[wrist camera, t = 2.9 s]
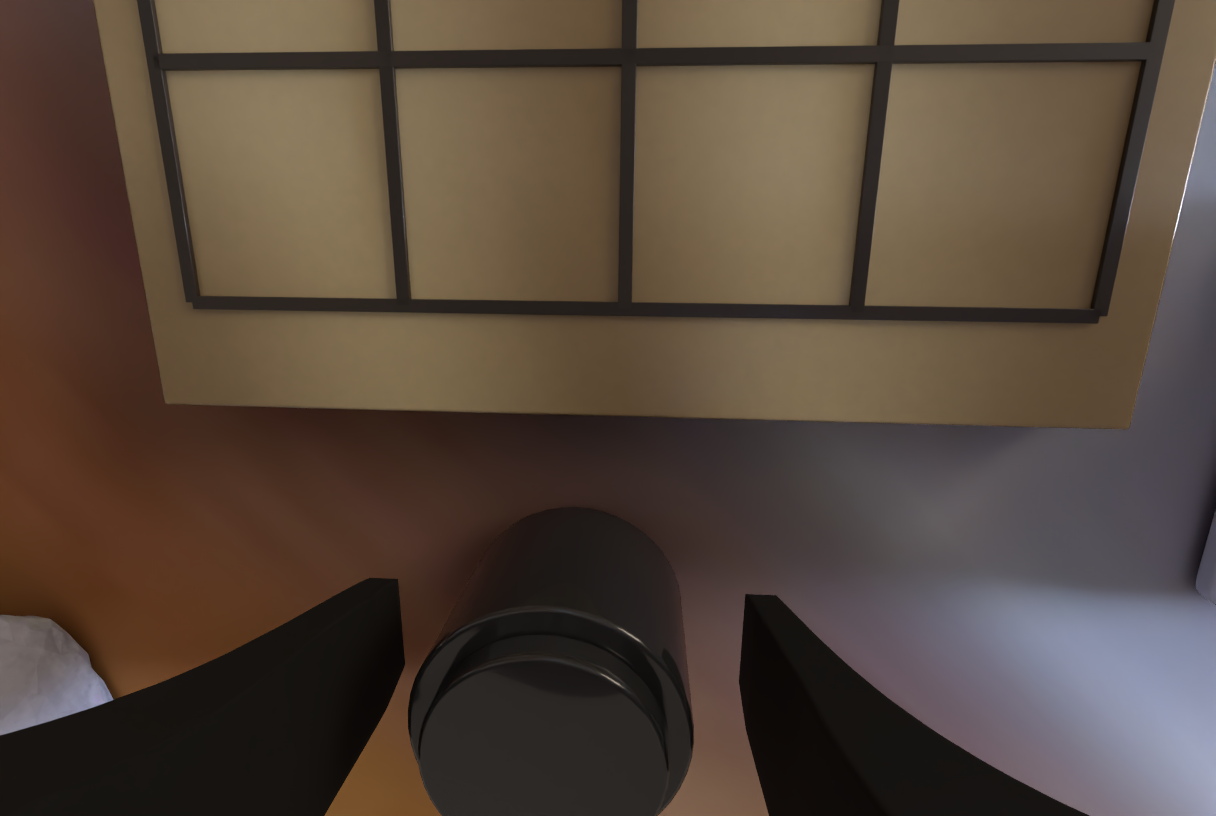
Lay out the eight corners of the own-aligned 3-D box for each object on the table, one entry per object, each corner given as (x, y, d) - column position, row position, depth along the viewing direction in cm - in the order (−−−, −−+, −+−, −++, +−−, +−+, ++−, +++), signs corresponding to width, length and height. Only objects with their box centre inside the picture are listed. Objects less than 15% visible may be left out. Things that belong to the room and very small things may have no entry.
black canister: (683, 497, 13) (705, 641, 8) (675, 678, 14) (691, 899, 9) (477, 491, 13) (376, 624, 8) (485, 668, 14) (402, 877, 9)
